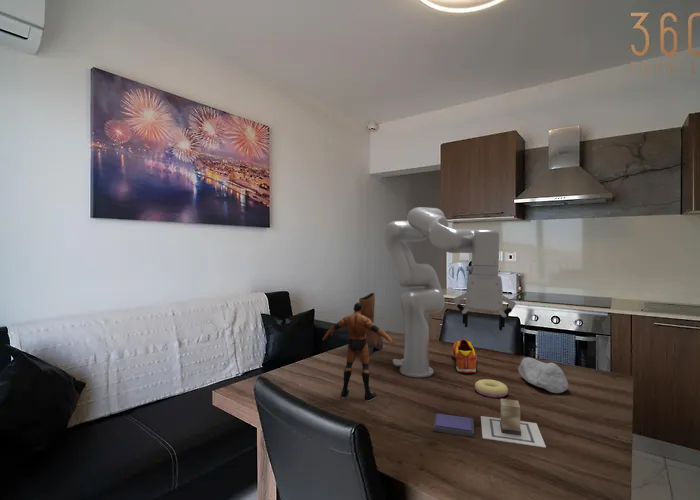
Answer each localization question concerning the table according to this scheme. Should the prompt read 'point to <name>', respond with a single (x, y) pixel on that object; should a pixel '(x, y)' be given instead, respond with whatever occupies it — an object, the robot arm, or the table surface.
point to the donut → (491, 388)
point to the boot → (368, 311)
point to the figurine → (357, 346)
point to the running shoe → (464, 356)
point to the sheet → (528, 434)
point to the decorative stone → (543, 375)
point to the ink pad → (454, 425)
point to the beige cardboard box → (510, 417)
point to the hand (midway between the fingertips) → (483, 327)
